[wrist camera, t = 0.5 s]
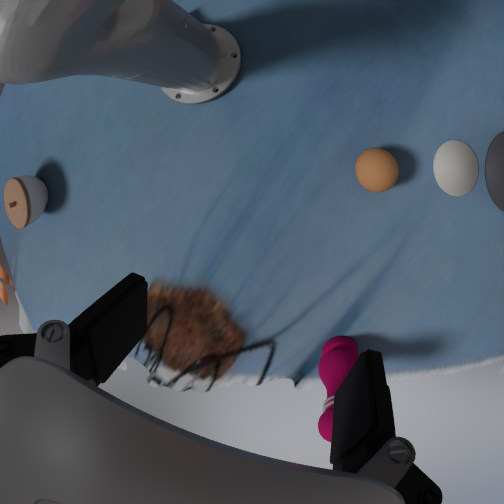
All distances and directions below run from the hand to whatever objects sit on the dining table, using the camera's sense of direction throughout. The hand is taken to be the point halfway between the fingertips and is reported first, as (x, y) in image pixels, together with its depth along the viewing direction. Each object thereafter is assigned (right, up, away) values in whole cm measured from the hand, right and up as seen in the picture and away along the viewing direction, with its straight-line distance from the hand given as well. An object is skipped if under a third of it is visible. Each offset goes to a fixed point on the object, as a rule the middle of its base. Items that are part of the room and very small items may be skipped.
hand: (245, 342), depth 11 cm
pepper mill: (+15, -13, +35) cm, 40 cm away
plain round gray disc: (+29, +15, +19) cm, 38 cm away
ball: (+15, +14, +20) cm, 29 cm away
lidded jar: (-45, +16, +37) cm, 61 cm away
